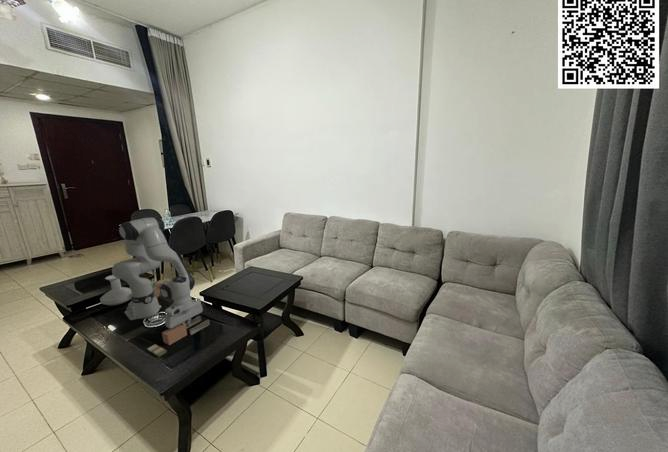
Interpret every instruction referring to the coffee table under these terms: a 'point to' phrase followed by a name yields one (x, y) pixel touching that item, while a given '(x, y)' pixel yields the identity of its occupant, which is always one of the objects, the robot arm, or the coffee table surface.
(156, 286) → the stack of blocks
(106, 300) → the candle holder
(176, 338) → the terracotta block
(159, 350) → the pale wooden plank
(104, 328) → the coffee table surface
